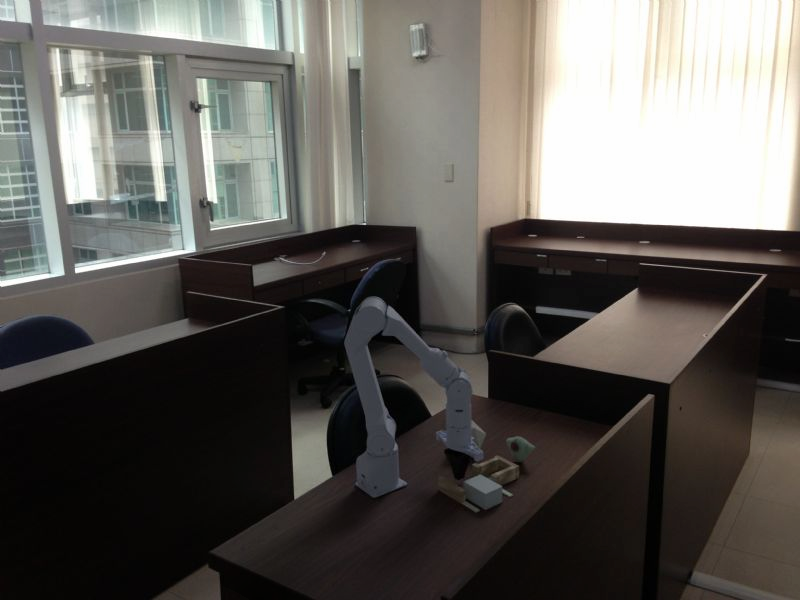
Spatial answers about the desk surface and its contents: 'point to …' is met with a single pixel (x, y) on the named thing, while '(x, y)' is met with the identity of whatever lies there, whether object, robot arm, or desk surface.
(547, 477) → the desk surface
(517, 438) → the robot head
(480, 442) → the die
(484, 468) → the channel
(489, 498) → the grey block
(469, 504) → the rails
